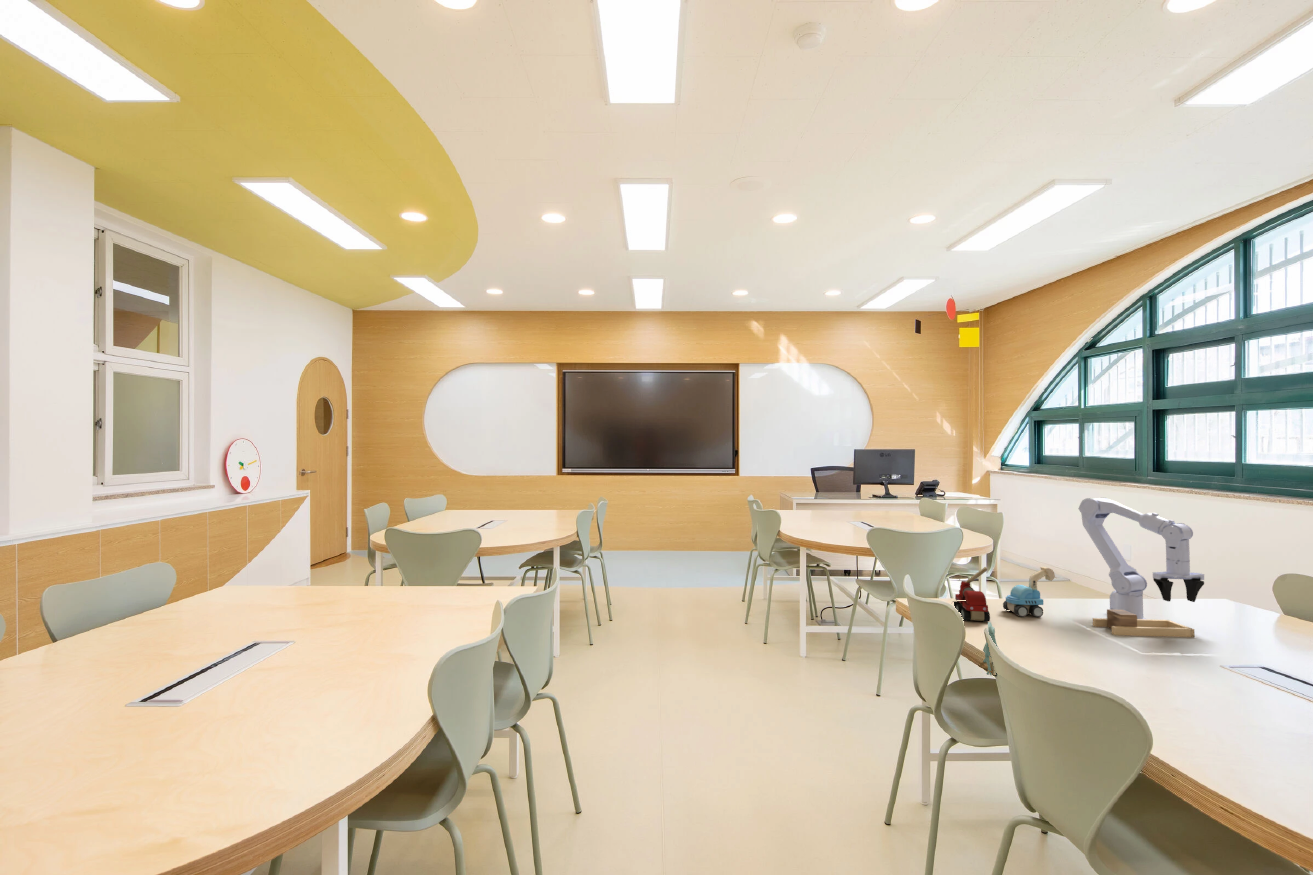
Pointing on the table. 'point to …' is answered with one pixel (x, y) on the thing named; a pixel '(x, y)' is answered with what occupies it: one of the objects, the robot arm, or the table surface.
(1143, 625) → the bay
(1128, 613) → the box
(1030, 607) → the toy excavator
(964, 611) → the toy fire truck
